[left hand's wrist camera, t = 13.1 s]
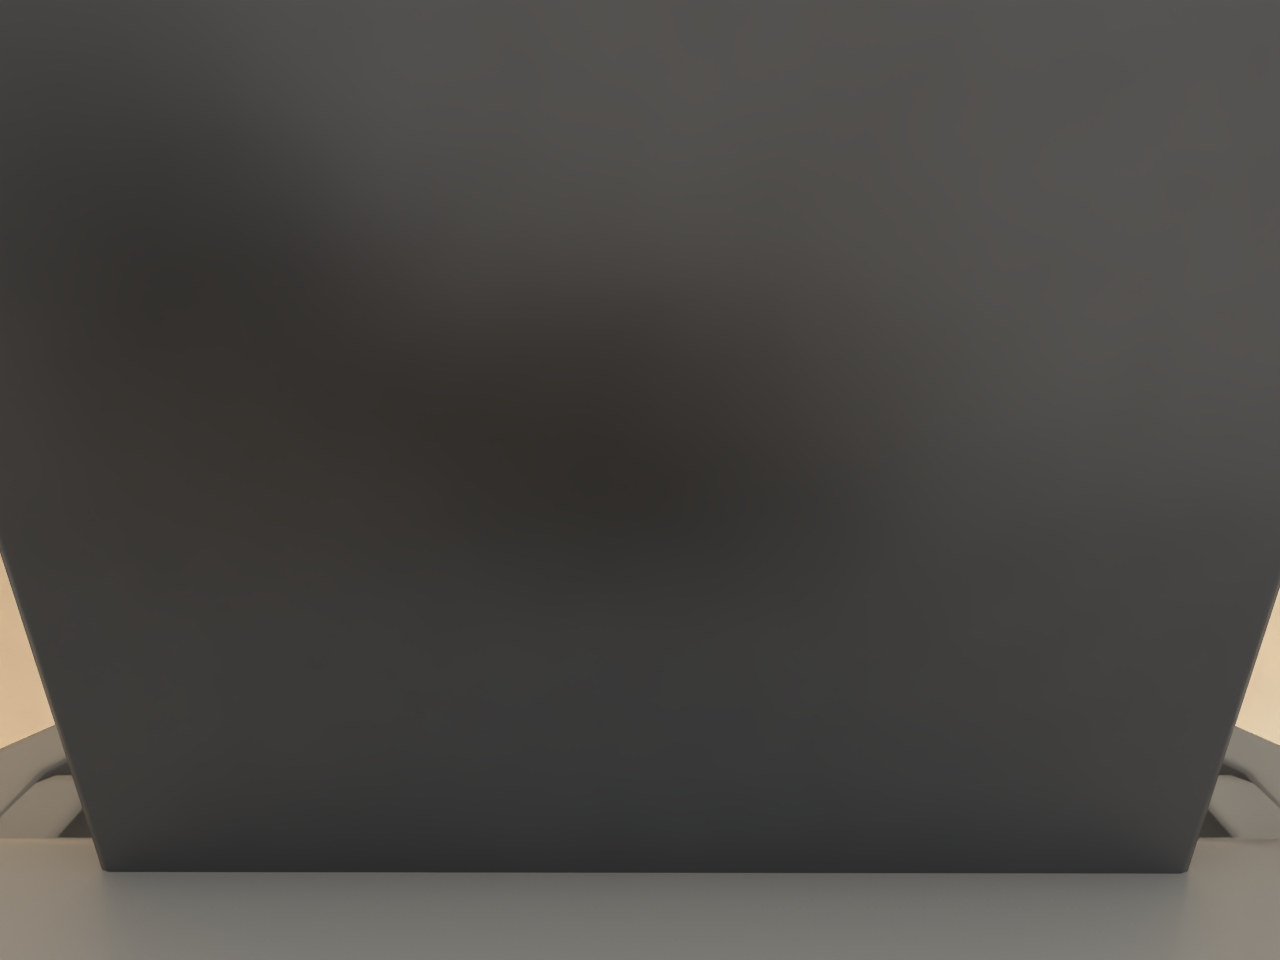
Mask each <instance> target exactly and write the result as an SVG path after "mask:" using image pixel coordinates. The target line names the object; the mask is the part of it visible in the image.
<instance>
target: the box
mask: <svg viewBox="0 0 1280 960" xmlns="http://www.w3.org/2000/svg"><path fill="white" fill-rule="evenodd" d="M0 553H1V556H2V559H3V562H4V566H5V569H6V572H7V575H8V578H9V581H10V584H11V587H12V591H13V594H14V597H15V600H16V603H17V606H18V609H19V612H20V615H21V619H22V622H23V625H24V628H25V631H26V634H27V637H28V640H29V643H30V647H31V650H32V653H33V656H34V659H35V662H36V665H37V668H38V672H39V675H40V678H41V681H42V684H43V687H44V690H45V693H46V696H47V700H48V703H49V706H50V709H51V712H52V715H53V718H54V721H55V724H56V728H57V731H58V734H59V737H60V740H61V743H62V746H63V749H64V753H65V756H66V759H67V762H68V765H69V768H70V771H71V774H72V777H73V781H74V784H75V787H76V790H77V793H78V796H79V799H80V802H81V805H82V809H83V812H84V815H85V818H86V821H87V824H88V827H89V830H90V833H91V837H92V840H93V843H94V846H95V849H96V852H97V855H98V858H99V862H100V865H101V868H102V870H105V871H108V872H437V873H1072V874H1181V873H1184V872H1187V871H1188V869H1189V866H1190V862H1191V859H1192V856H1193V853H1194V850H1195V847H1196V844H1197V841H1198V838H1199V835H1200V832H1201V828H1202V825H1203V822H1204V819H1205V816H1206V813H1207V810H1208V807H1209V804H1210V801H1211V798H1212V795H1213V791H1214V788H1215V785H1216V782H1217V779H1218V776H1219V773H1220V770H1221V767H1222V764H1223V761H1224V757H1225V754H1226V751H1227V748H1228V745H1229V742H1230V739H1231V736H1232V733H1233V730H1234V727H1235V724H1236V720H1237V717H1238V714H1239V711H1240V708H1241V705H1242V702H1243V699H1244V696H1245V693H1246V690H1247V686H1248V683H1249V680H1250V677H1251V674H1252V671H1253V668H1254V665H1255V662H1256V659H1257V656H1258V653H1259V649H1260V646H1261V643H1262V640H1263V637H1264V634H1265V631H1266V628H1267V625H1268V622H1269V619H1270V615H1271V612H1272V609H1273V606H1274V603H1275V600H1276V597H1277V594H1278V591H1279V588H1280V0H0Z"/></svg>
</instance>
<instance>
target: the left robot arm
mask: <svg viewBox="0 0 1280 960" xmlns="http://www.w3.org/2000/svg"><path fill="white" fill-rule="evenodd" d="M0 960H1280V746H1279V745H1277V744H1275V743H1273V742H1270V741H1268V740H1266V739H1263V738H1261V737H1259V736H1257V735H1254V734H1252V733H1250V732H1247V731H1245V730H1243V729H1241V728H1238V727H1236V726H1235V727H1234V730H1233V733H1232V736H1231V739H1230V742H1229V745H1228V748H1227V751H1226V754H1225V757H1224V761H1223V764H1222V767H1221V770H1220V773H1219V776H1218V779H1217V782H1216V785H1215V788H1214V791H1213V795H1212V798H1211V801H1210V804H1209V807H1208V810H1207V813H1206V816H1205V819H1204V822H1203V825H1202V828H1201V832H1200V835H1199V838H1198V841H1197V844H1196V847H1195V850H1194V853H1193V856H1192V859H1191V862H1190V866H1189V869H1188V871H1187V872H1184V873H1181V874H1072V873H437V872H108V871H105V870H102V868H101V865H100V862H99V858H98V855H97V852H96V849H95V846H94V843H93V840H92V837H91V833H90V830H89V827H88V824H87V821H86V818H85V815H84V812H83V809H82V805H81V802H80V799H79V796H78V793H77V790H76V787H75V784H74V781H73V777H72V774H71V771H70V768H69V765H68V762H67V759H66V756H65V753H64V749H63V746H62V743H61V740H60V737H59V734H58V731H57V728H56V725H54V726H51V727H49V728H47V729H45V730H42V731H40V732H38V733H36V734H33V735H31V736H29V737H26V738H24V739H22V740H20V741H17V742H15V743H13V744H11V745H8V746H6V747H4V748H1V749H0Z"/></svg>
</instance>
